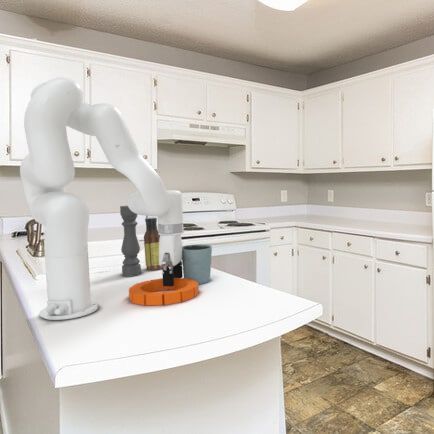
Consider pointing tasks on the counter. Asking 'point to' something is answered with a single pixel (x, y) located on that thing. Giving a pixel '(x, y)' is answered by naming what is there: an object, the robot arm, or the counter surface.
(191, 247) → the blue-grey plant pot
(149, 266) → the sauce bottle
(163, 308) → the counter surface
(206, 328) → the counter surface
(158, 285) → the ring
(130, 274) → the candle holder
